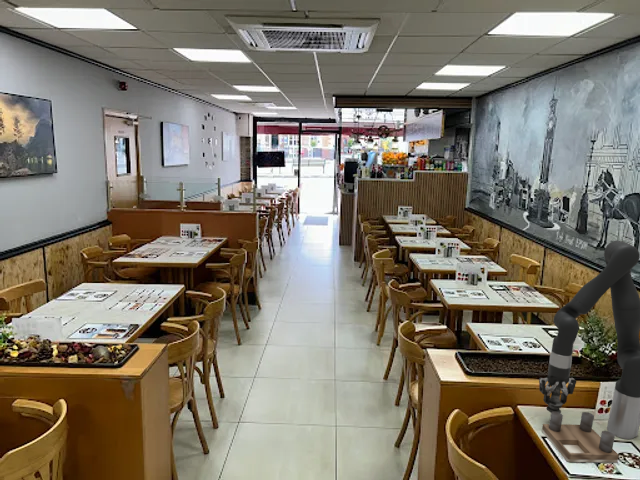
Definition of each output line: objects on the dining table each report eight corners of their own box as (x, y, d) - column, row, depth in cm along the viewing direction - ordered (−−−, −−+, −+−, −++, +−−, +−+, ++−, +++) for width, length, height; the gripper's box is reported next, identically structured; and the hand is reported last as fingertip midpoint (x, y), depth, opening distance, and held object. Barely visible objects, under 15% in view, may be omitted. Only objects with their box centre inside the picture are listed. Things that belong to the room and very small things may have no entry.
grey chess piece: (558, 406, 194) (562, 378, 191) (564, 414, 188) (568, 386, 186) (543, 405, 194) (546, 377, 192) (548, 413, 189) (552, 385, 186)
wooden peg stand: (586, 431, 187) (590, 410, 186) (617, 462, 170) (622, 439, 168) (541, 431, 186) (545, 409, 184) (567, 462, 169) (571, 438, 167)
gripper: (572, 359, 191) (566, 398, 195) (537, 358, 190) (531, 398, 194) (583, 367, 184) (577, 408, 187) (547, 367, 183) (541, 408, 186)
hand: (554, 403), depth 191 cm, fingers closed on grey chess piece, 6 cm apart
